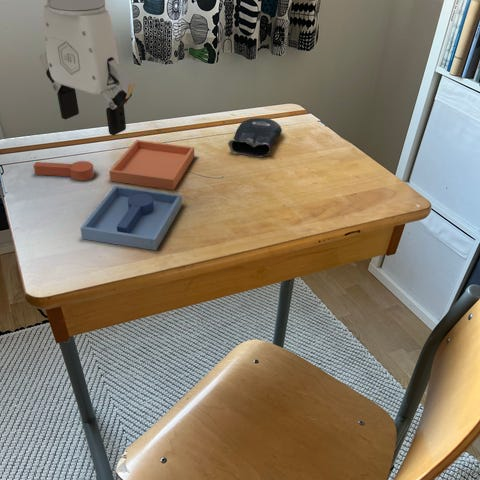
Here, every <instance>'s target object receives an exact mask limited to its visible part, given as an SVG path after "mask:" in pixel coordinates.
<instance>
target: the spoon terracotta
mask: <svg viewBox="0 0 480 480" xmlns="http://www.w3.org/2000/svg"><path fill="white" fill-rule="evenodd" d="M33 170H34V174H35V175H39V176H54V177H55V176H56V177H71V178H72V179H73V180H76V181H88V180H90V179H93V178H94V177H95V169H94V164H93V163H92V162H90V161H85V160H80V161H75V162H73V163H64V162H61V163H60V162H44V161H35V163H34V164H33Z"/></svg>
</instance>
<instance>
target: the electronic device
mask: <svg viewBox="0 0 480 480" xmlns="http://www.w3.org/2000/svg"><path fill="white" fill-rule="evenodd" d="M282 131H283V129H282V127H281V125H280V124H279V123H278V122H277V121H275V120H274V119H270V118H266V117H260V118H259V117H254V118H248V119H245V120H244V121H242V122H241V123H240V124H239V126H238V127H237V129H236V131H235V133H234V135H233V138H232V139H230V140H229V141H228V142H227V145H228V148H229V150H230V154H233V155H234V154H235V155H237V154H238V155H246V156H250V157H256V158H264V157H266V156H267V155H268V154H269V153H270V152H271V149H272V147H273V146H274V143H275V141H276V140H277V139H278V138H279V137H280V136H281V134H282Z"/></svg>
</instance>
